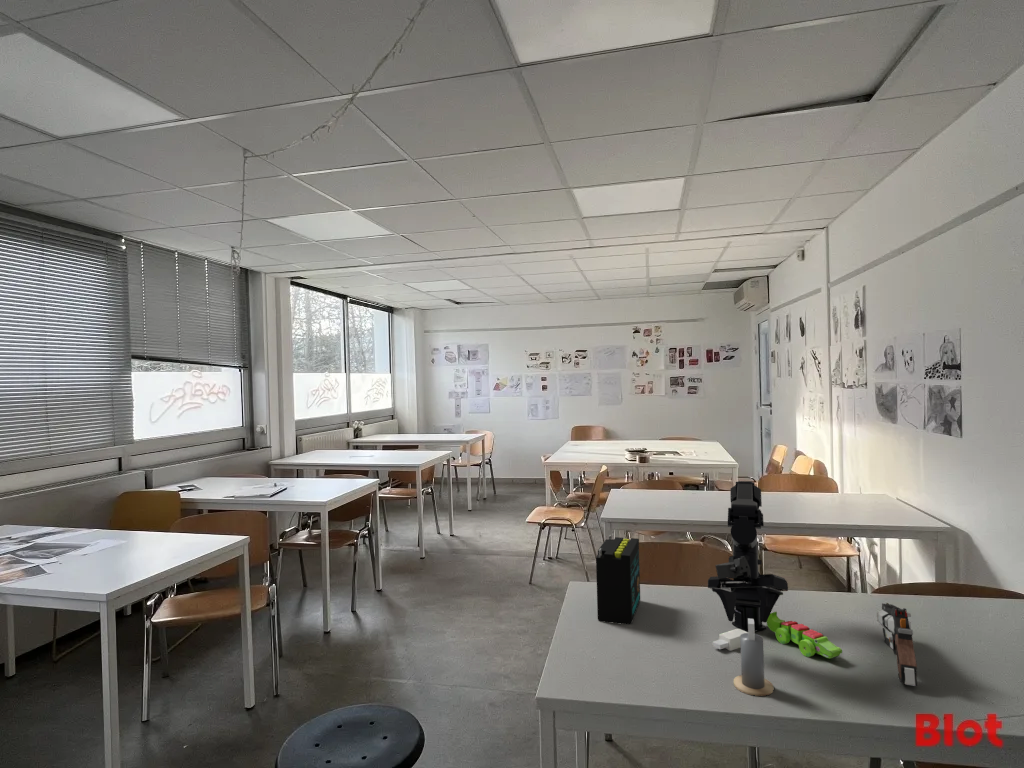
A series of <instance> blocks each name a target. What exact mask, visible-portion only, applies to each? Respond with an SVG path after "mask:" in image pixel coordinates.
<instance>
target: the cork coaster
mask: <svg viewBox="0 0 1024 768" xmlns="http://www.w3.org/2000/svg"><path fill="white" fill-rule="evenodd" d="M764 680H765V686H764V688H761V689H752V688H748V687H746V686H744V685H743V684H742V674H741V675H737V676H735V677H734V678H733V686H734V687H735V689H736V690H738V691H740V692H741V693H743V694H746V695H749V696H753V695H755V696H754V697H766V695H767V696H769V695H772V694H773V693H774V691H773V690H774V689H775V688H774V685H773V683H772V682H771V681H770V680H769V679H767V678H765V677H764Z"/></svg>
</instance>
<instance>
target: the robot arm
mask: <svg viewBox="0 0 1024 768" xmlns="http://www.w3.org/2000/svg"><path fill="white" fill-rule="evenodd" d="M729 490H730V491H729V492H730V507H728V508H727V509H728V511H727V527H729V528H730V536H731V541H732V556H731V555H729V557H728V562H723V563H719V564H715V569H716V574H717V576H709V578H708V580H707V588H708V589H711V591H712V592H713V593H716V594H717V596H718V597H719V599H720V601H721V602H722V606H723V608H724V611H725V615H726V617H727V620H728V622H731V625H733V626H735V627H737V629H741V630H743V631H746V632H748V618H749V619H754V629H755V632H757V631H763V630H767V629H768V628H767V627H768V626H767V625H764V624H763V623H766V624H767V620H768V617H769V615H770V613H772V611H773V609H774V606H775V604H776V603H777V601H778V599H779V598H780V596H783V595H784V592H788V591H789V586H788V585H789V583H788V581H787V579H786V578H785V577H782V576H779V575H776V574H773V573H772V574H771V573H769V574H768V573H767V574H763V573H762V574H760V571H759V565H760V566H761V565H762V564H763V563H762V560H761V559H759V555H758V553H759V549H758V533H757V531H758V530H760V529H762V527H764V514H763V512H762V510H761V509H760V508H761V507H763V506H762V489H760V487H758V486H756V485H755V482H754V481H752V480H751V481H749V480H737V481H735V484H734V485H733V486H732V487H731V488H730V489H729ZM757 529H758V530H757Z"/></svg>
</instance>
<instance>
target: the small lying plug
mask: <svg viewBox="0 0 1024 768" xmlns="http://www.w3.org/2000/svg"><path fill="white" fill-rule="evenodd" d="M744 633H748V632H746V631H744V630H742V629H740V628H735V629H731V630H729V631H725V632H723V633H719V634H718V639H717V640H713V641H712V642H711V643H712V645H711V646H712V647H714V648H716V649H719V650H722V649H726V650H728V651H730V652H731V651H734V650H737V649H741V643H740V635H741V634H744Z"/></svg>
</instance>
